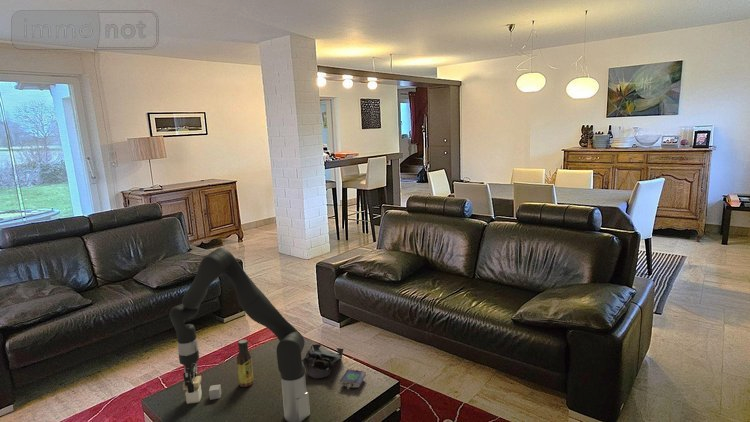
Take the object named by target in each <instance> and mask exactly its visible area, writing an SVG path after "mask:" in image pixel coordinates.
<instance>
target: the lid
mask: <svg viewBox="0 0 750 422" xmlns="http://www.w3.org/2000/svg"><path fill="white" fill-rule="evenodd" d="M202 380H203V379H202V375H197V376H195V377H194V378H193V385H194V388H199V385H200V384H201V383H202ZM188 382H189V381H188ZM182 383H183V384H182V390H183V391H185V390H187V389H188V387H187V386H185V382H184V381H183V382H182Z"/></svg>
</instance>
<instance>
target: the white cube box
mask: <svg viewBox="0 0 750 422" xmlns="http://www.w3.org/2000/svg"><path fill="white" fill-rule="evenodd" d="M202 396H203V393H202V384H201V383H200V385H199V388H194V392H193V393H188V389H186V391H185V402H186V405H189V404H197V403H200V402H201V399H202Z"/></svg>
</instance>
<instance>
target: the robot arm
mask: <svg viewBox="0 0 750 422" xmlns="http://www.w3.org/2000/svg"><path fill="white" fill-rule="evenodd" d="M224 274H225V275H226V276H227V277H228V278H229V280H230V281H231V282H232V285H233V286H234V290H235V294H236V300H237V302H238V305H239V306H240V308H241V309H242V310H243V312H245V313H246V315H247V316H248V317H249V318H250V319H251V320H252V321H254V322H256V323H257V324H259V325H261V326H263V327H265V328H267V329H269V330H270V331H271V332H272V333H273V334H274V335H275V337H276V338H277V339H278V341H279V342H278V344H277V346H276V360H277V368H278V372H279V373H280V381H281V393H282V404H283V407H282V408H283V415H284V416H283V417H284V419H285V421H287V422H303V421H304V420H305V419H307V418H308V417H309V416H310V415H311V408H310V395H309V391H307V381H306V380H307V379H306V369H305V366H304V364H303V361H302V352H303V349H304V347H305V343H306V342H305V339H304V336H303V335H302V334H301V332H300V331H299V330H298V329H296V328H295V327H294V326H293V325H292V324H291V323H290V322H289V321H288V320H287V319H286V318H285V317H284V316H283V315H282V314H281V313H280V311H279V310H278V309H277V308H276V307H275V306H274V305H273V303H272V302H271V300H269V299H268V297H267V296H266V295H265V293H263V292H262V291H261V289H260V288H258V286H257V285H256V284H255V283H254V281H253V280H252V278H250V277H249V276H248V274H247V272H245V270H244V269H243V267H242V266H241V265H240V263H239V261H238V260H237V259H236V257H235V256H234V255H233V254H232V252H230V251H229V250H228V249H226V248H225V247H218V248H215V249H214V250H213V251H211V252H210V253H208V254H207V255H204V257H203V258H202V259H201V261H200V263H199V266H198V269H197V272H196V274H195V277H194V279H193V281H192V283H191V285H190V286H189V287H188V289H187V291H186V292H185V294H184V296H183V297H182V300H181V304H178V305H175V306H173V307H171V309H170V311H169V319H170V322H171V323H172V325H173V327H174V330H175V332H176V339H177V340H176V341H177V351H178V360H179V364H180V365H183V366H185V367H184V368H183V374H182V376H183V380H184V381H183V383H184V382H185V386H187V387H188V393H193V392H194V385H193V378H194V377H195V376H198V371H199V369H198V361H199V360H200V354H199V353H200V351H199V344H198V339H197V332H196V327H195V325H194V324H191V323H187V324H185V322H186V321H189V320H191V319H194V318H195V317H196V316H197V315H198V313H199V310H200V306H201V303H202V302H203V301H204V300H205V298H206V296H207V294H208V290H209V287H210V285H211V284H212V283H213V282H214V281H215V280H216V279H218V278H220V277H221V276H223V275H224ZM188 381H189V382H188Z"/></svg>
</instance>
